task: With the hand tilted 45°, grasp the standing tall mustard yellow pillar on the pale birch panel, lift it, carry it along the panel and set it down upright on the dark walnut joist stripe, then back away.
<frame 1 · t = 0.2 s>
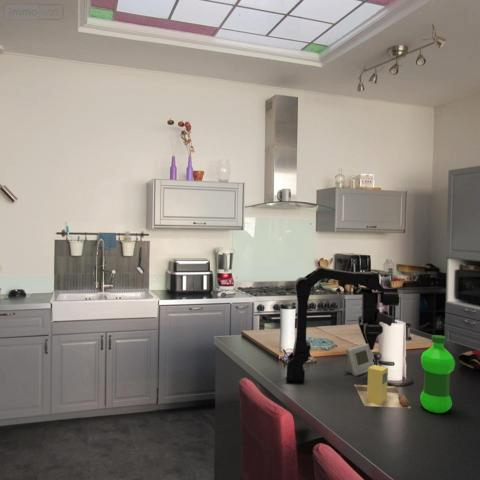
hand: (369, 346, 187), 15 cm above the kitchen island, tool pointing down, fingers open, 9 cm apart
plastic bottle: (435, 412, 163), on the kitchen island
panel: (380, 397, 175), on the kitchen island
tall mustard yellow pillar: (376, 401, 169), point 1 cm above the kitchen island, touching panel
digital clock: (360, 372, 204), on the kitchen island
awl: (401, 401, 169), resting on panel
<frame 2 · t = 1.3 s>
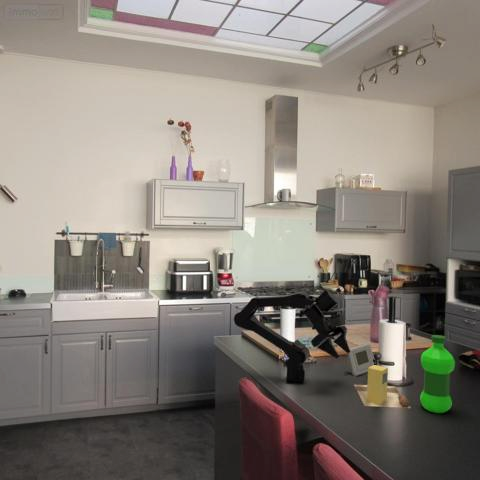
hand: (343, 355, 179), 14 cm above the kitchen island, tool tilted 45°, fingers open, 9 cm apart
nothing on the kitchen island moved.
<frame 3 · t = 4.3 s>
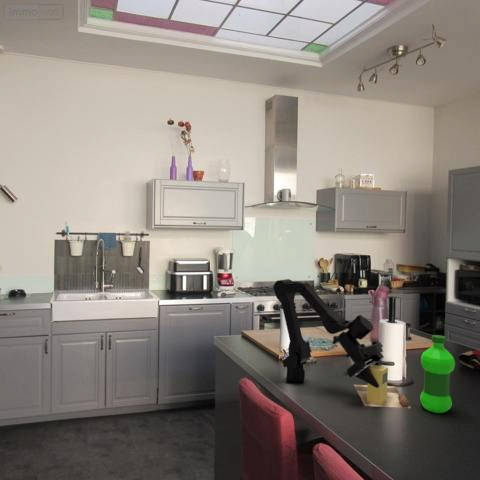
hand: (381, 385, 168), 7 cm above the kitchen island, tool tilted 45°, fingers closed on tall mustard yellow pillar, 5 cm apart
tall mustard yellow pillar: (376, 401, 169), point 1 cm above the kitchen island, touching gripper, panel
everything else where it was.
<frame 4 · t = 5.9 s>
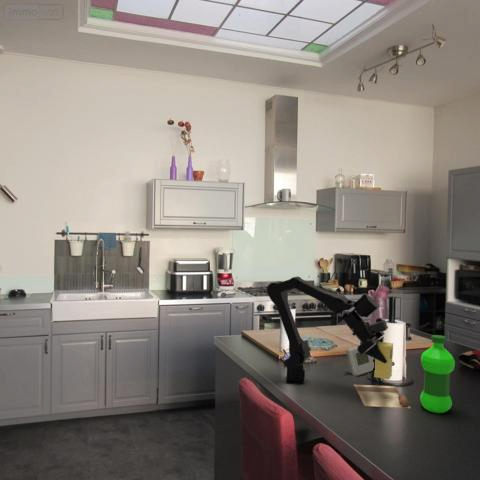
hand: (387, 360, 173), 13 cm above the kitchen island, tool tilted 45°, fingers closed on tall mustard yellow pillar, 5 cm apart
tall mustard yellow pillar: (382, 376, 174), point 8 cm above the kitchen island, touching gripper
everything else where it was.
when the fingers open (8 cm above the kitchen island, at t = 7.8 s): tall mustard yellow pillar drops 1 cm, resting on panel.
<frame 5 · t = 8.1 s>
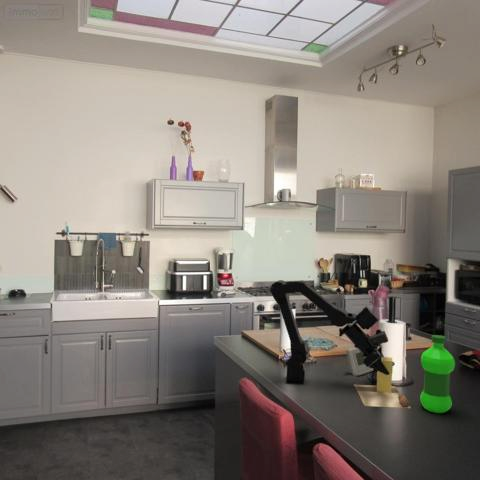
hand: (388, 370, 180), 8 cm above the kitchen island, tool tilted 45°, fingers open, 9 cm apart
tall mustard yellow pillar: (383, 390, 180), point 1 cm above the kitchen island, touching panel
everything else where it was.
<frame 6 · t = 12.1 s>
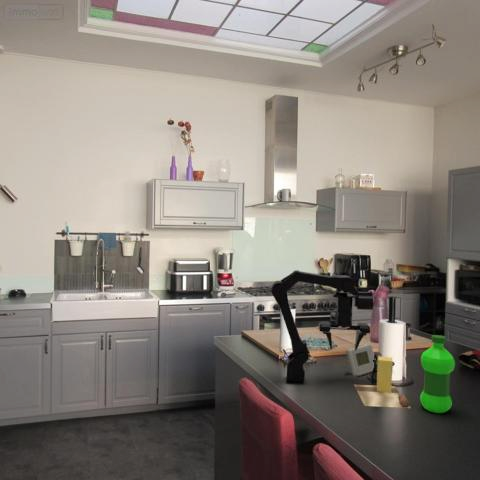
hand: (343, 349, 188), 13 cm above the kitchen island, tool pointing down, fingers open, 9 cm apart
at the end: tall mustard yellow pillar inside the target area (0.0 cm from its centre), point 0.8 cm above the kitchen island; tall mustard yellow pillar tilted 0°; the gripper is holding nothing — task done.
